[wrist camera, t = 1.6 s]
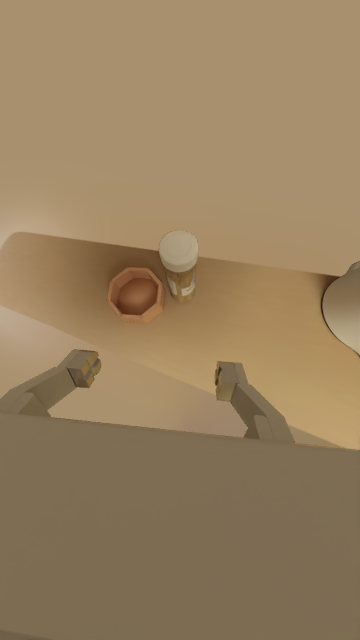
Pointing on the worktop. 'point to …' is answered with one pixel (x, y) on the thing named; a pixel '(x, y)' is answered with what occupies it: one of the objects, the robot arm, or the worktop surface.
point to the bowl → (136, 295)
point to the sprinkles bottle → (180, 263)
